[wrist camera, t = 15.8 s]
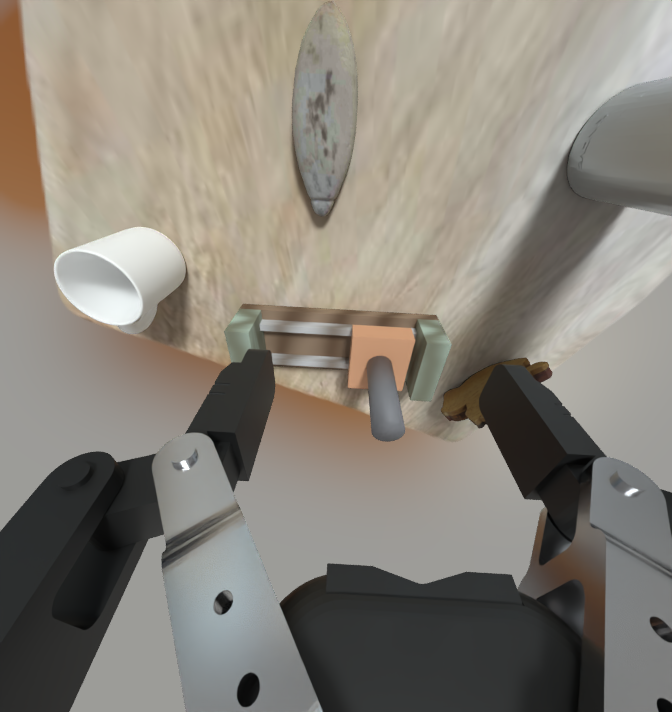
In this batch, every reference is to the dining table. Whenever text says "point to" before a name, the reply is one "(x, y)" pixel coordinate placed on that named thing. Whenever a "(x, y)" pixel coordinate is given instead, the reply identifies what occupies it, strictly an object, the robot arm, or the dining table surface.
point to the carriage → (381, 374)
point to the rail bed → (335, 339)
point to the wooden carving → (466, 397)
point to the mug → (121, 277)
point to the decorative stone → (325, 106)
